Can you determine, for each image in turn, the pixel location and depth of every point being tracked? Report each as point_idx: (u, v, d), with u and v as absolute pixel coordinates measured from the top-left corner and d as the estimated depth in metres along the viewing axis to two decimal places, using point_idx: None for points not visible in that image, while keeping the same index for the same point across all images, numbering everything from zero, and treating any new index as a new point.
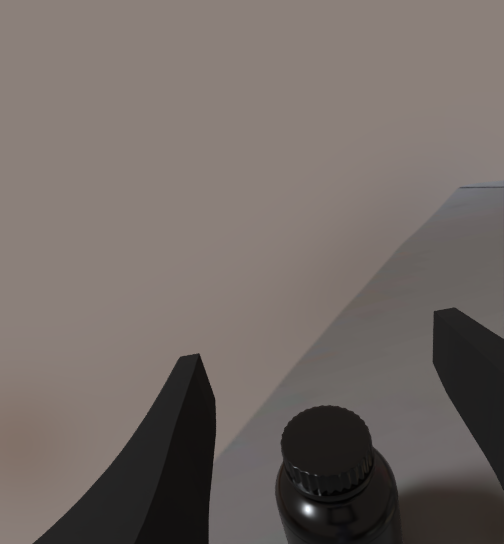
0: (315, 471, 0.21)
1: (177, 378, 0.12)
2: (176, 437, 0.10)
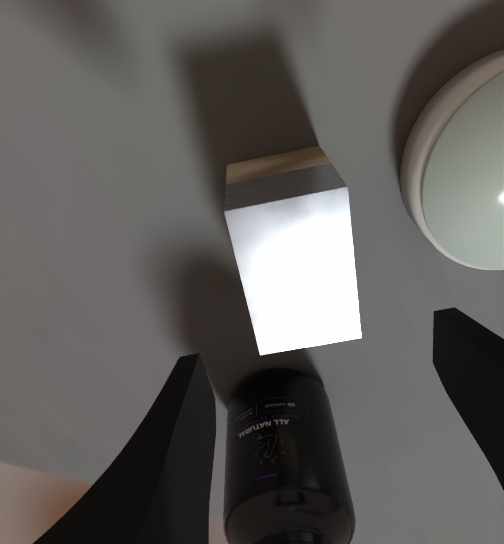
0: None
1: (177, 378, 0.12)
2: (176, 437, 0.10)
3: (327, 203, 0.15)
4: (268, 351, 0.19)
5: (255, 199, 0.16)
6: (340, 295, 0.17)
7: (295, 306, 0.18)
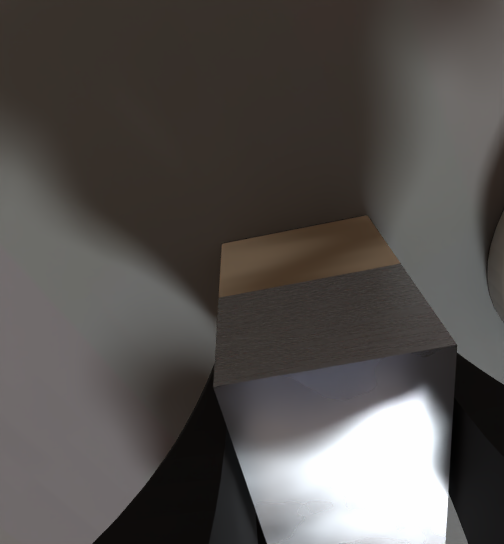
0: None
1: None
2: None
3: (415, 370, 0.08)
4: None
5: (272, 355, 0.08)
6: (419, 497, 0.10)
7: (339, 513, 0.10)
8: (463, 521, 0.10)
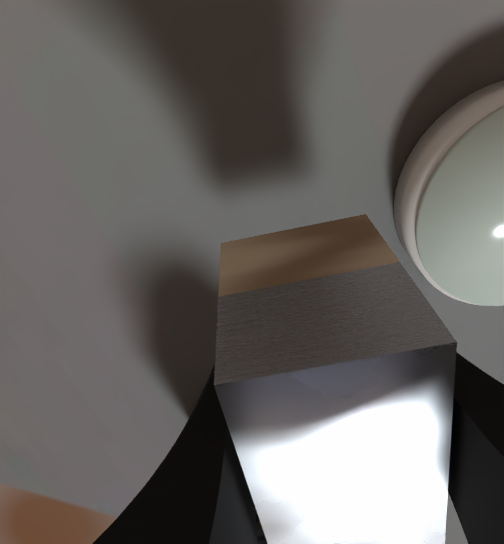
0: None
1: None
2: None
3: (415, 368, 0.08)
4: None
5: (272, 354, 0.08)
6: (418, 494, 0.10)
7: (339, 511, 0.10)
8: (463, 522, 0.10)
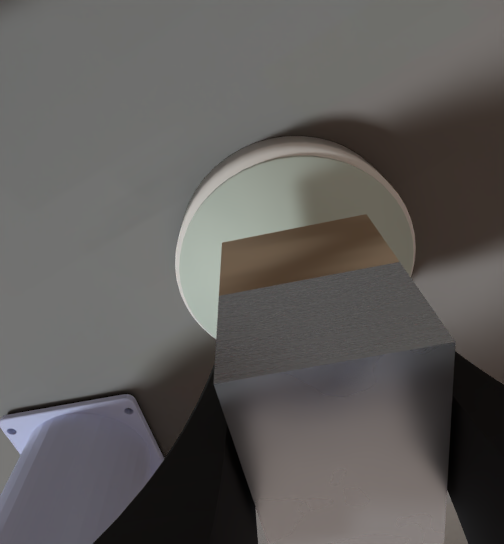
0: None
1: None
2: None
3: (413, 367, 0.08)
4: None
5: (272, 353, 0.08)
6: (417, 493, 0.10)
7: (338, 509, 0.10)
8: (463, 522, 0.10)
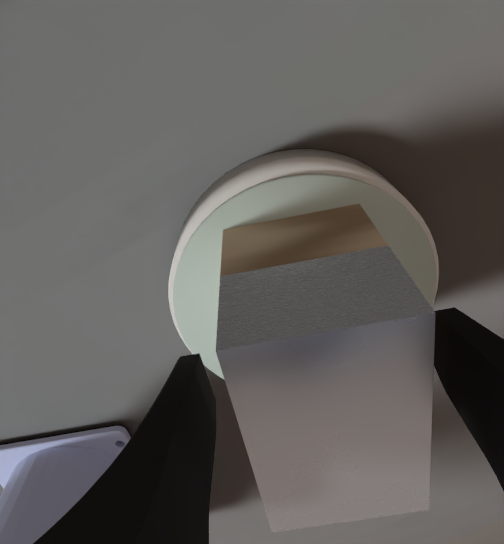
0: None
1: (177, 378, 0.12)
2: (176, 437, 0.10)
3: (397, 337, 0.09)
4: (284, 527, 0.12)
5: (269, 324, 0.09)
6: (403, 460, 0.11)
7: (330, 475, 0.11)
8: None
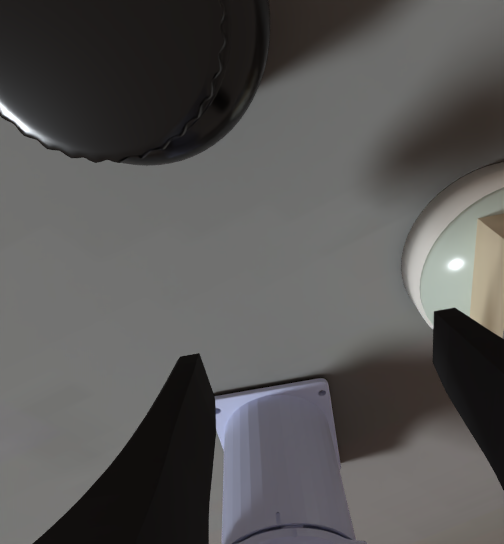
0: (86, 150, 0.08)
1: (177, 378, 0.12)
2: (176, 437, 0.10)
3: None
4: None
5: None
6: None
7: None
8: None
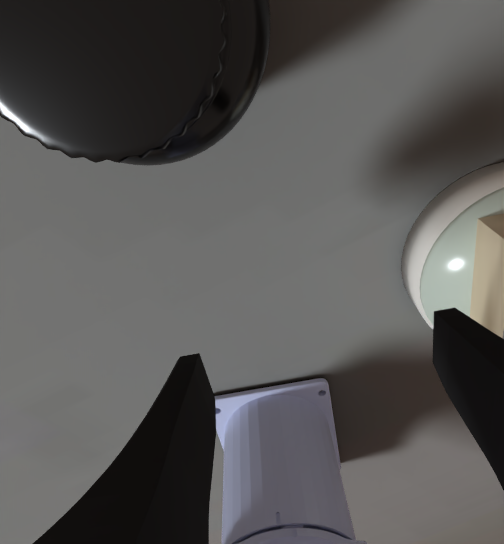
0: (86, 150, 0.08)
1: (177, 378, 0.12)
2: (176, 437, 0.10)
3: None
4: None
5: None
6: None
7: None
8: None
